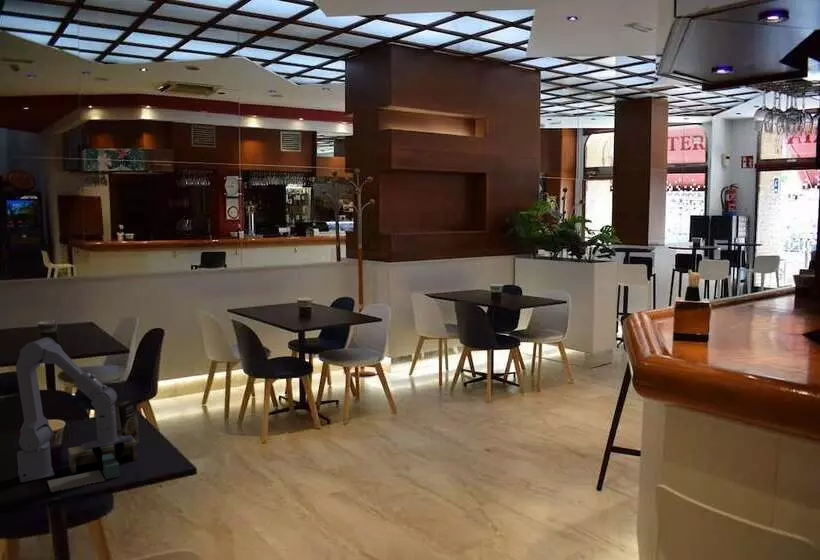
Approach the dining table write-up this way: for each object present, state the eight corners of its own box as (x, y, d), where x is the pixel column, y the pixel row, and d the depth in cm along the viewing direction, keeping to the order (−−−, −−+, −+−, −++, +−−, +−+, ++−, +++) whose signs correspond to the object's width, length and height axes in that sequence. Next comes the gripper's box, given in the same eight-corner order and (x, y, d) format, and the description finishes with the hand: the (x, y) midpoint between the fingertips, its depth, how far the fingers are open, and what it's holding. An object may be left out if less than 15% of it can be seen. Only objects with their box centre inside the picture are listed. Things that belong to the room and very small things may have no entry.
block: (106, 479, 215) (105, 467, 215) (99, 467, 225) (98, 455, 225) (119, 476, 217) (119, 464, 217) (112, 465, 227) (111, 453, 227)
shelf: (72, 473, 221) (70, 454, 221) (69, 466, 227) (67, 448, 227) (137, 459, 232) (136, 441, 232) (133, 453, 238) (131, 436, 237)
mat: (51, 492, 206) (51, 491, 206) (47, 482, 214) (47, 480, 214) (104, 480, 214) (104, 479, 214) (99, 471, 223) (99, 469, 223)
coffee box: (124, 451, 240) (121, 406, 239) (108, 450, 242) (105, 406, 240) (140, 442, 249) (137, 399, 248) (124, 442, 251) (121, 398, 249)
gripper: (83, 434, 212) (86, 477, 213) (133, 425, 220) (135, 466, 221) (80, 428, 218) (83, 470, 219) (128, 420, 226) (131, 460, 227)
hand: (109, 468), depth 221 cm, fingers closed on block, 4 cm apart
